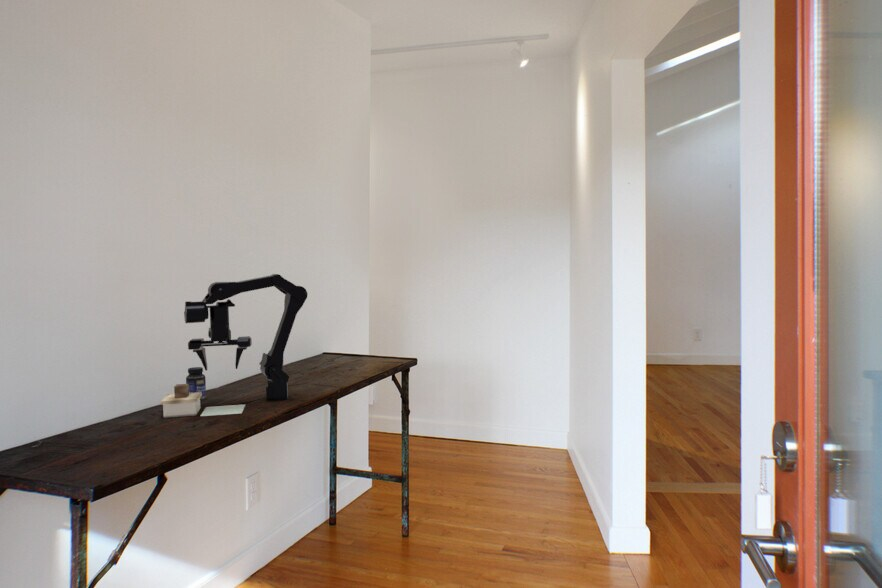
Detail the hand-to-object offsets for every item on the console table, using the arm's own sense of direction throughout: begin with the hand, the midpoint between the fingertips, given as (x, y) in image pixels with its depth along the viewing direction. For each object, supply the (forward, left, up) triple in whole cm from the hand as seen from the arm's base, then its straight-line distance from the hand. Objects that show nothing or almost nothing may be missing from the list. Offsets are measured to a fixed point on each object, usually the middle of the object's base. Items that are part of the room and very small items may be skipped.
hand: (221, 369), depth 197 cm
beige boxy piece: (+11, +7, -12) cm, 18 cm away
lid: (+11, +7, -8) cm, 15 cm away
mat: (-1, +7, -12) cm, 14 cm away
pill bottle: (+10, -12, -12) cm, 20 cm away
